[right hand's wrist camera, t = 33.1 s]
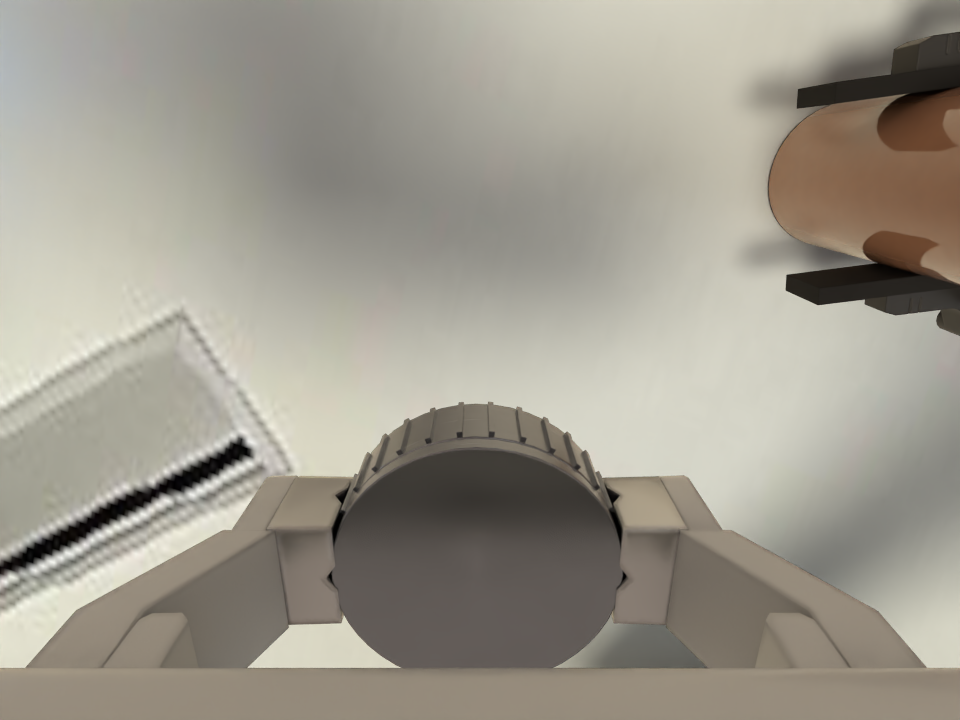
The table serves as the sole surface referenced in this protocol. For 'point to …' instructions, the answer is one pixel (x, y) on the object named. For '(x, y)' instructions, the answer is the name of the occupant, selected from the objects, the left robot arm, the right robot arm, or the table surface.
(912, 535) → the table surface
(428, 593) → the cap
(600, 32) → the table surface
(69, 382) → the table surface
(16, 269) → the table surface
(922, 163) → the bottle
